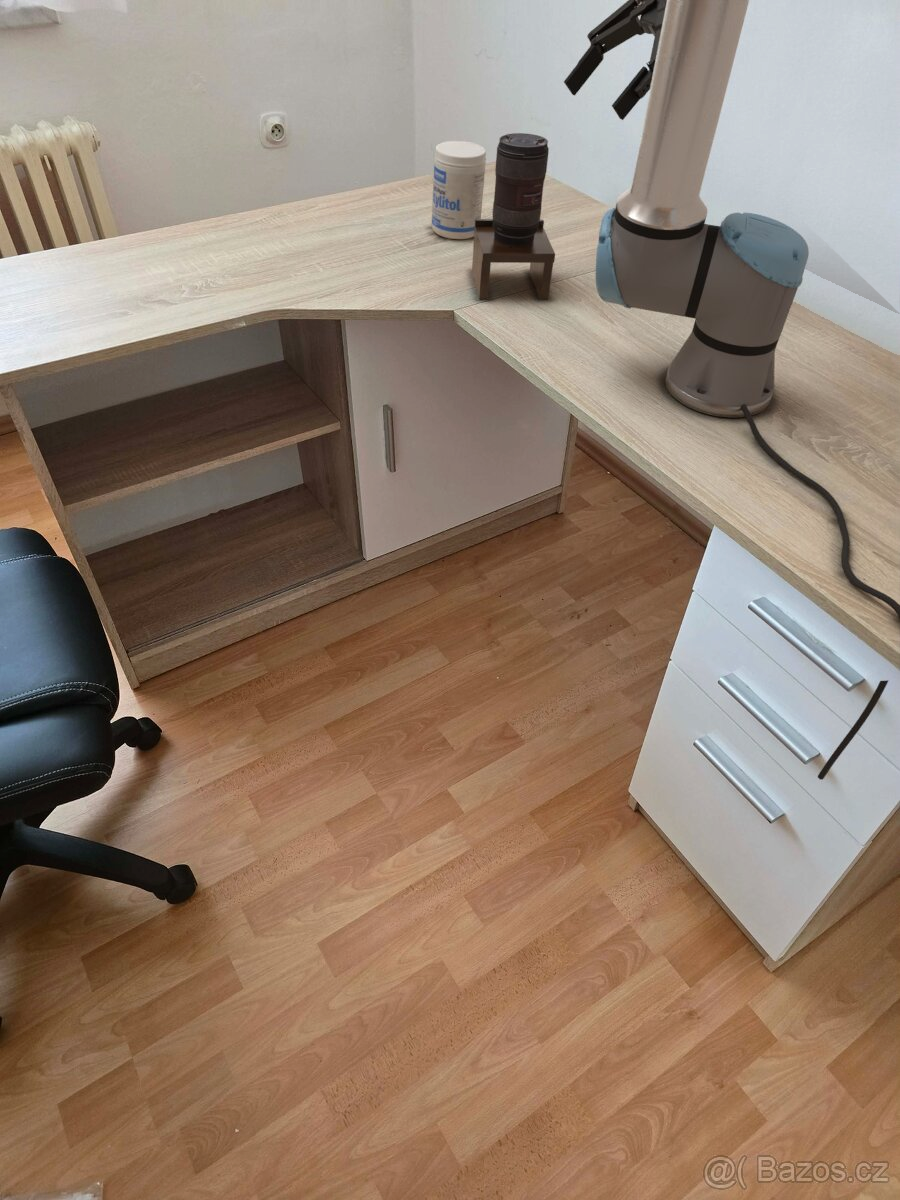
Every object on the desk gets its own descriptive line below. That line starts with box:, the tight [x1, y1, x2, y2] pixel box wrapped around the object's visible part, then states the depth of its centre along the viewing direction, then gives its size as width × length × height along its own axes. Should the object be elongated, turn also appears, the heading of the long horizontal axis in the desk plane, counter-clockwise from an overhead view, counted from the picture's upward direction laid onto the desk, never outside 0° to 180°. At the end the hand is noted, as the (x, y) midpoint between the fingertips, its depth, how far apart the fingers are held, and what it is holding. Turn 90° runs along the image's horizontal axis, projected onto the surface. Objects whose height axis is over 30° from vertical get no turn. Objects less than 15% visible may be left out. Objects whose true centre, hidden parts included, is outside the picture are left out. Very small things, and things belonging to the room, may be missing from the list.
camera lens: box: [492, 132, 550, 246], centre depth 127 cm, size 8×8×15 cm
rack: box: [471, 218, 556, 301], centre depth 134 cm, size 12×12×9 cm
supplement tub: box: [431, 140, 487, 240], centre depth 148 cm, size 10×10×15 cm
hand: (592, 100), depth 121 cm, fingers open, 13 cm apart
